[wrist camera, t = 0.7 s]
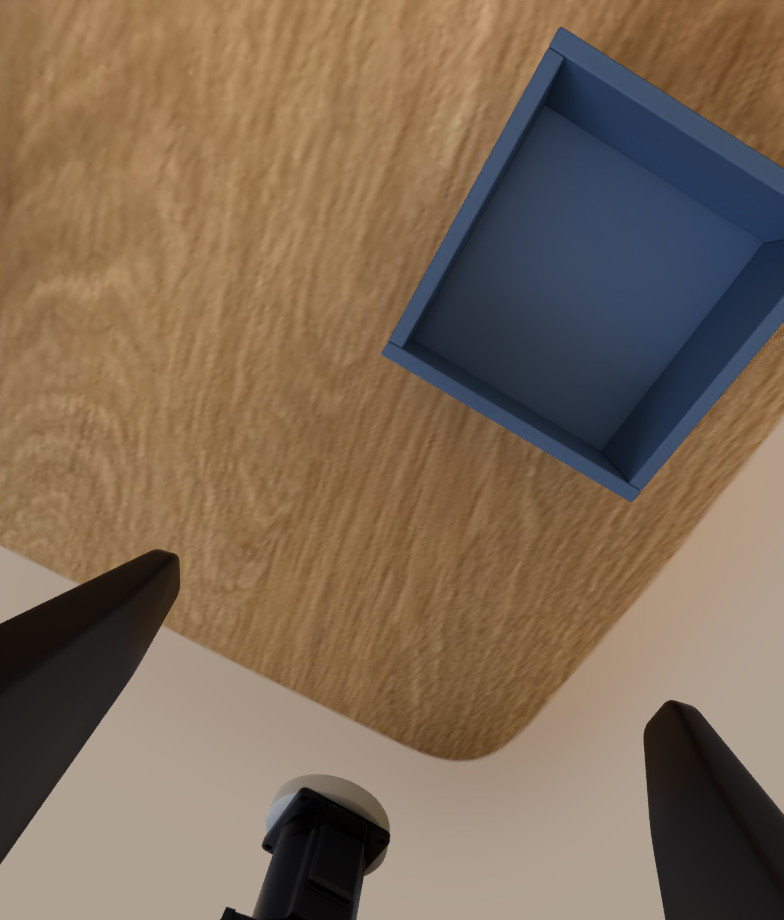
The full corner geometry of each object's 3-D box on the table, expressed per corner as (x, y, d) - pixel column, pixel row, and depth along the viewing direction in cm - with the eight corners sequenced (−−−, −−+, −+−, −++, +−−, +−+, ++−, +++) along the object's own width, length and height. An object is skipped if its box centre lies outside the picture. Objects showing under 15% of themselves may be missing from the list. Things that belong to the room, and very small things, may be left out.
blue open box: (600, 463, 20) (632, 503, 16) (396, 342, 19) (380, 354, 16) (777, 237, 17) (869, 221, 13) (538, 86, 16) (560, 24, 12)
